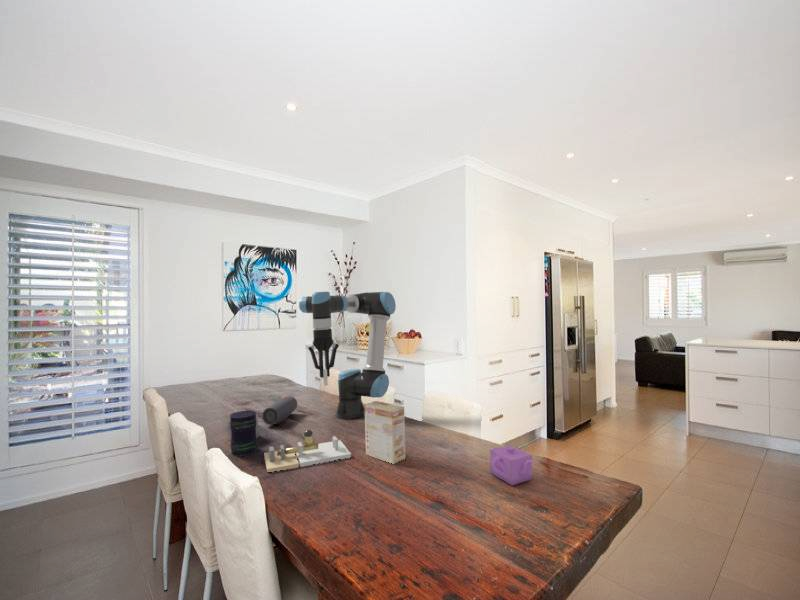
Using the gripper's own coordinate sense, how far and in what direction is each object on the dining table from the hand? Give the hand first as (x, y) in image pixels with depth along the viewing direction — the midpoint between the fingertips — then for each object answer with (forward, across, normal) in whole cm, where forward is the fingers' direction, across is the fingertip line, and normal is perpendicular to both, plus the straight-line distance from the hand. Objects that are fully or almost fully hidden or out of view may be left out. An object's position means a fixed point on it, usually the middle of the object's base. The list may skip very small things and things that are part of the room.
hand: (325, 384), depth 164 cm
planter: (+24, +31, -22) cm, 45 cm away
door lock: (+24, +11, +12) cm, 29 cm away
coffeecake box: (+25, -16, +25) cm, 39 cm away
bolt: (+21, +14, +11) cm, 28 cm away
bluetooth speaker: (+25, +14, -42) cm, 51 cm away
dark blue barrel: (+24, +32, -7) cm, 41 cm away
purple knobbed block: (+25, -45, +62) cm, 80 cm away
